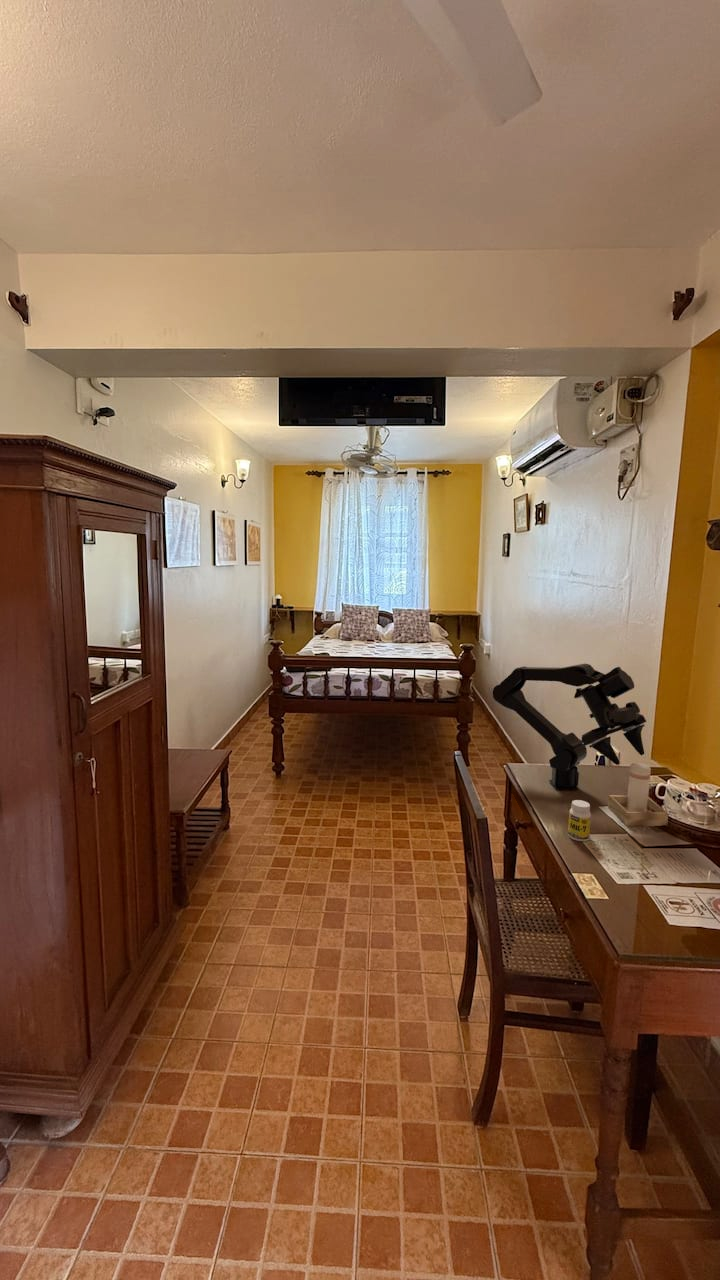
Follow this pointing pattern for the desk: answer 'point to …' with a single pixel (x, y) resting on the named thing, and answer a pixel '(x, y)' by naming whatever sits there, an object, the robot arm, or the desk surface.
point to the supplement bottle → (579, 821)
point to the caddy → (637, 813)
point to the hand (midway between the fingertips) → (630, 759)
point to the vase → (638, 788)
